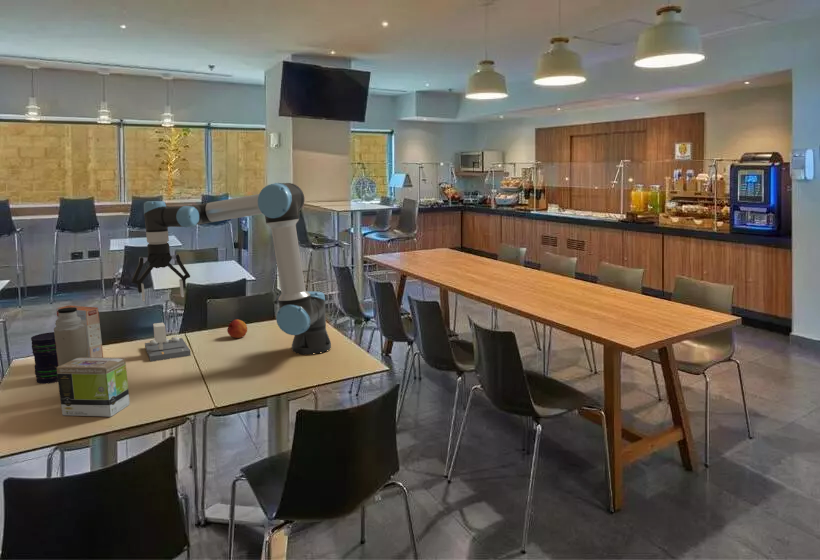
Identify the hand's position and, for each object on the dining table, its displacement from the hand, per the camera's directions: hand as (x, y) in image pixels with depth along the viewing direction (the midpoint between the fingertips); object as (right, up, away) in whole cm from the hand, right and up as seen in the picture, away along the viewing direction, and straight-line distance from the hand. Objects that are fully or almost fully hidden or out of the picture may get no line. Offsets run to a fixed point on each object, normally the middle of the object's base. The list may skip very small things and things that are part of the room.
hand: (163, 298), depth 217 cm
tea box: (+2, -31, -50) cm, 59 cm away
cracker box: (-26, -23, -7) cm, 36 cm away
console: (-1, -21, +6) cm, 22 cm away
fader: (-1, -19, +1) cm, 19 cm away
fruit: (+21, -17, +25) cm, 37 cm away
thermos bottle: (-10, -29, -40) cm, 50 cm away
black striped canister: (-27, -26, -23) cm, 45 cm away
